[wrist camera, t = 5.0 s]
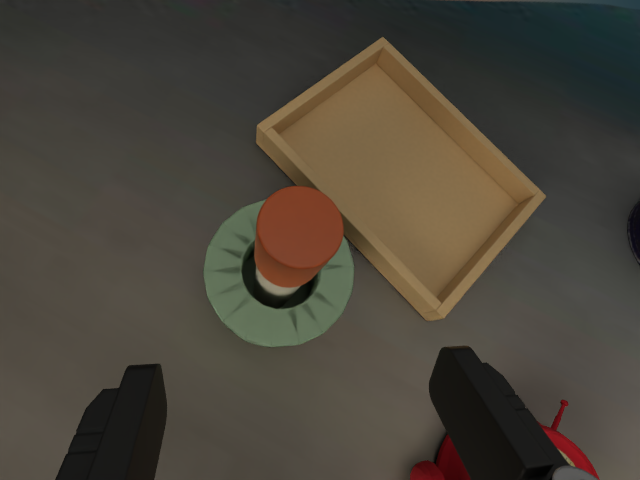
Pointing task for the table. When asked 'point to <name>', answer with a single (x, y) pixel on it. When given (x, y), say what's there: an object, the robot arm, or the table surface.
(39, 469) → the table surface
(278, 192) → the marker
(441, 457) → the alarm clock
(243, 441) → the table surface
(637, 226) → the dark blue cylinder
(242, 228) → the green cylindrical pot
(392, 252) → the tray
